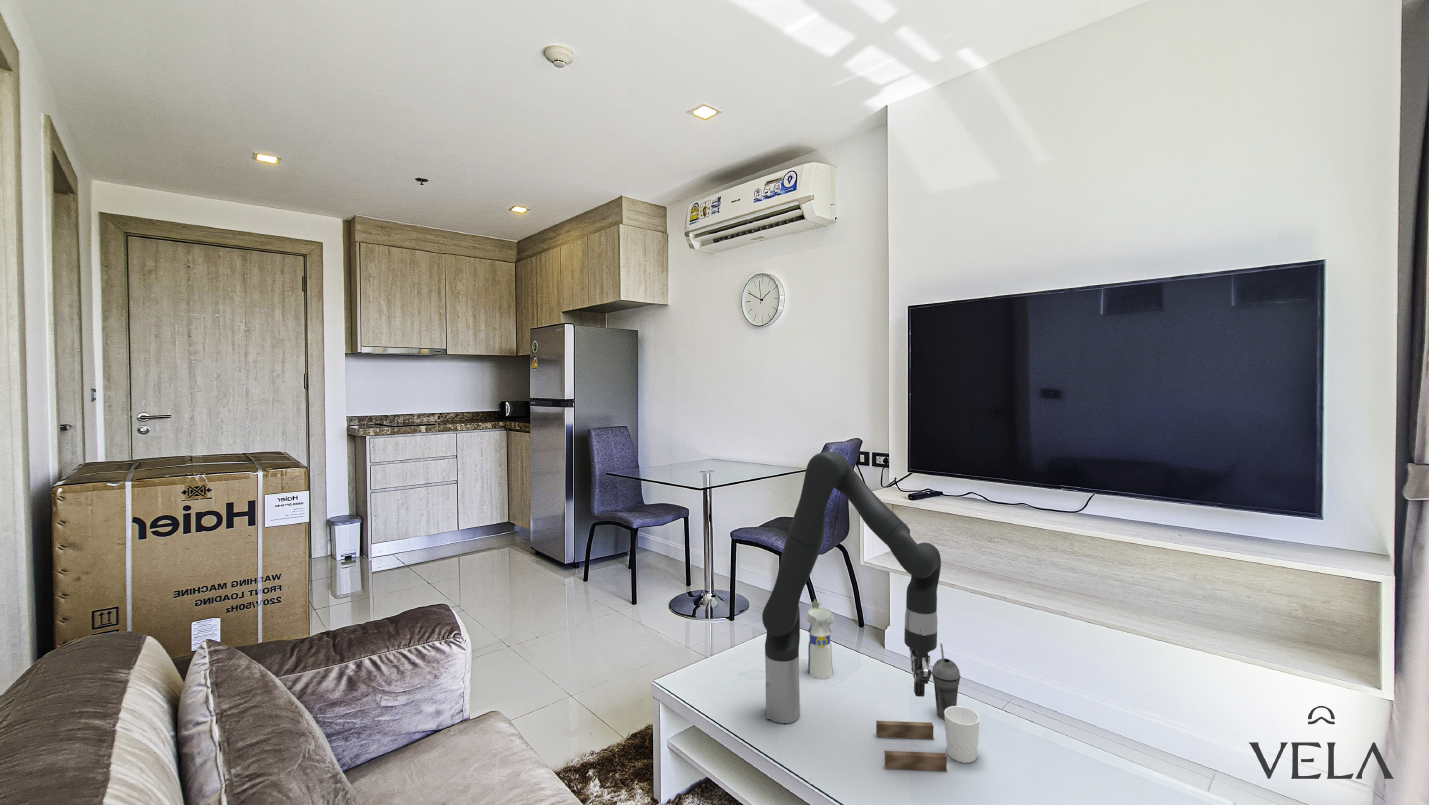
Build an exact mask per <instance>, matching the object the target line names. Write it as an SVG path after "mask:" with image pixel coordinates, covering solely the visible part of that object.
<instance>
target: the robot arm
mask: <svg viewBox="0 0 1429 805" xmlns="http://www.w3.org/2000/svg"><path fill="white" fill-rule="evenodd" d="M802 483H803V485H802V489H801V494H800V498H799V500H798V504H797V506H796V509H795V512H794V515H793V518H792V521H791V524H790V527H789V530H788V532H787V536H786V539H785V542H784V545H783V549H782V553H781V558H780V562H779V564H778V565H779V566H778V571H777V575H776V579H775V583H774V585H773V589H772V591H771V594H770V596H769V597H768V598H769V599H767V601H766V604H765V606H764V607H763V609H762V614H761V616H762V617H761V619H762V624H763V627H764V629H765V630H766V636H765V637H766V638H765V642H764V655H765V656H764V658H765V661H764V662H765V663H764V664H765V719H766V720H767V719H771V720H770V721H772V720H773V721H772V722H774V721H775V722H774V723H777V722H778V723H777V724H784V723H786V724H790V723H794V722H796V721H797V720H799V718H800V716H801V704H800V700H801V699H800V698H801V697H800V696H801V694H800V689H801V688H800V654H799V653H800V651H799V650H800V642H801V641H800V640H801V632H800V631H801V626H800V625H801V619H800V618H801V616H800V612H801V611H800V606H799V604H800V600H801V596H802V594H803V591H804V589H805V585H806V584H807V581H808V580H809V578H810V576H811V573H812V572H813V569H814V567H815V564H816V562H817V560H818V556H819V554H820V551H821V548H822V545H823V541H824V536H825V515H826V509H827V506H828V502H829V500H830V497H831V494H832V492H833V491H834V489H835V490H837V491H838V492H839V493H841V494H842V495H843V496H844V497H845V498H846V499H848V501H849V502H850V503H851V505H853V507H854V509H856V511H857V513H858V514H859V516H860V517H861V519H862V520H863V522H864V524H866V526H867V527H868V528H869V529H870V530H871V531H872V532H873V533H874V535H876V536H877V537H878V538H879V539H880V540H881V541H882V542H883V543H884V544H885V545H886V546H887V547H888V549H889V550H890V552H891V553H892V555H893V556H894V557H895V559H896V560H897V562H898V563H899V564H900V566H901V567H902V568H903V570H904V571H906V572H907V573H908V574H909V575H910V581H909V582H908V585H907V587H906V599H905V601H906V602H905V604H906V605H905V612H904V634H903V635H904V638H903V639H904V641H903V642H904V644H905V645H906V647H908V648H909V655H910V656H909V658H910V667H911V669H910V670H911V672H912V677H913V680H914V681H913V692H914V695H915V697H917V698H918V697H919V698H921V697H922V698H923V697H925V693H926V692H925V691H926V690H925V688H926V687H925V686H926V685H928V684H929V681H930V679H931V676H932V669H929V667H930V664H931V656H930V655H929V653H931V652H933V651H935V650H936V649H937V647H938V612H937V610H938V608H937V606H938V595H937V593H938V586H939V580H940V575H941V567H942V559H941V558H942V557H941V553H940V552H939V549H938V547H936V546H935V545H934V544H932V543H930V542H920V543H917V542H916V541H915V540H914V539H913V537H912V535H911V529H910V527H909V526H908V525H907V524H906V523H905V522H904V521H903V520H902V519H901V518H900V516H898V515H897V514H896V513H895V512H894V511H893V510H891V508H889V507H888V505H886V504H885V503H884V502H883V501H882V500H881V499H880V498H879V497H878V496H877V495H876V494H875V493H874V492H873V491H872V490H871V489H870V487H868V485H867V484H866V483H865V482H864V481H863V480H862V478H861V477H860V476H859V474H858V473H857V472H856V471H855V470H854V468H853V467H852V465H851V464H850V463H849V462H848V460H847V459H846V458H845V457H844V456H843V454H841V453H839V452H835V451H824V452H823V451H822V452H820V453H819V452H818V453H816V454H814V455H813V456H812V457H811V458H810V459H809V461H808V463H807V465H806V469H805V473H804V478H803V482H802Z"/></svg>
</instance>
